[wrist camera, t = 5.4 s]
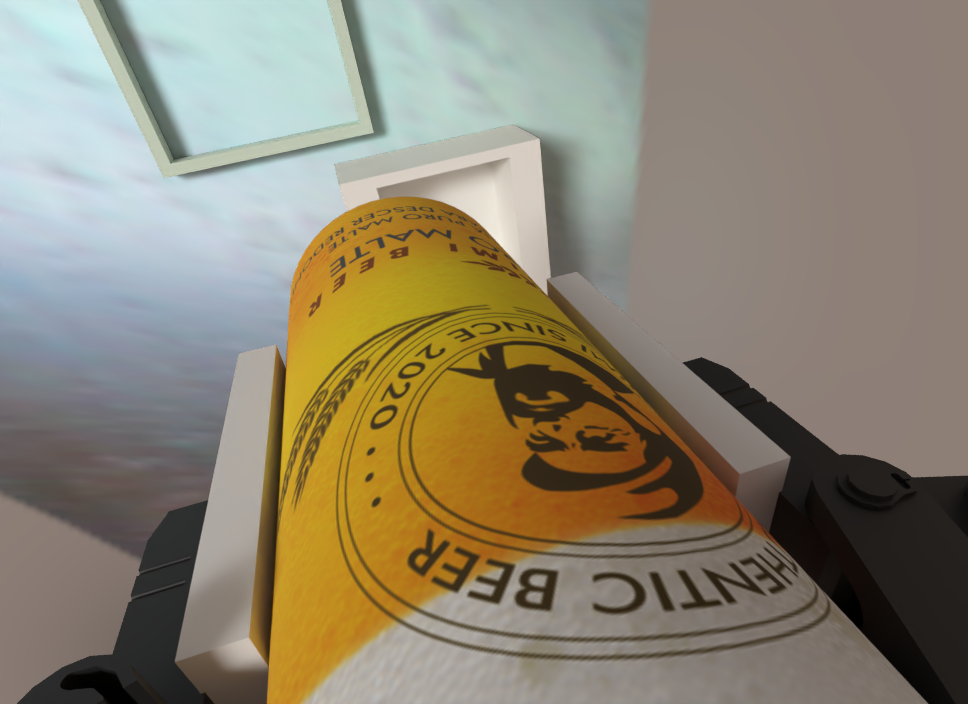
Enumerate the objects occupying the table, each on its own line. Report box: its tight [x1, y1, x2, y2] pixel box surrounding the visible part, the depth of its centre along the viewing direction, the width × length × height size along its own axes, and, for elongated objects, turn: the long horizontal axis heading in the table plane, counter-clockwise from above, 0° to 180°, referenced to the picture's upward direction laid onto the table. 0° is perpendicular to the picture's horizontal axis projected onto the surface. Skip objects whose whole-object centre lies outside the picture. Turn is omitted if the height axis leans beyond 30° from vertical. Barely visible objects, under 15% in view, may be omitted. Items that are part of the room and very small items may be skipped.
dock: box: [334, 125, 551, 296], centre depth 35 cm, size 19×11×4 cm, turn 8°
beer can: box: [267, 196, 928, 704], centre depth 9 cm, size 6×6×15 cm
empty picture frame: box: [78, 0, 374, 178], centre depth 26 cm, size 11×11×1 cm
